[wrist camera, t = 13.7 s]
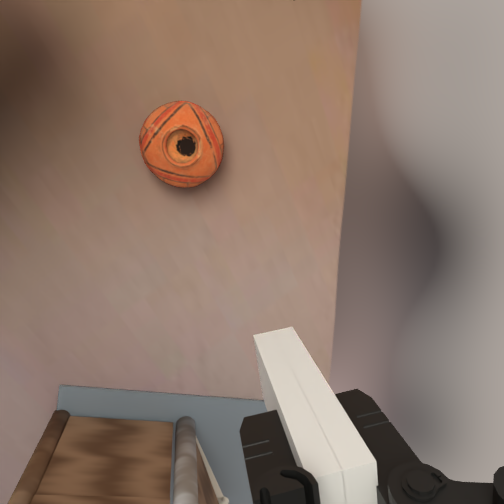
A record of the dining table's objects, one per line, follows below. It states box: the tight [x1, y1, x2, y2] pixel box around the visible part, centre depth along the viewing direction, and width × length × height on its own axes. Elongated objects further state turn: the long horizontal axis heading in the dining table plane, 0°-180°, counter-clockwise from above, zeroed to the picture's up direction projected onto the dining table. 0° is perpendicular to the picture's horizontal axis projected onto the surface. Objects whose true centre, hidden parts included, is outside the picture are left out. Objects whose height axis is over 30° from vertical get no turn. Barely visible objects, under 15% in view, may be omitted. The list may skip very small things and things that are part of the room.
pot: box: [139, 101, 224, 187], centre depth 37 cm, size 8×8×7 cm
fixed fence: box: [8, 410, 198, 504], centre depth 39 cm, size 17×3×15 cm, turn 79°
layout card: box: [57, 385, 268, 504], centre depth 49 cm, size 30×18×1 cm, turn 79°
